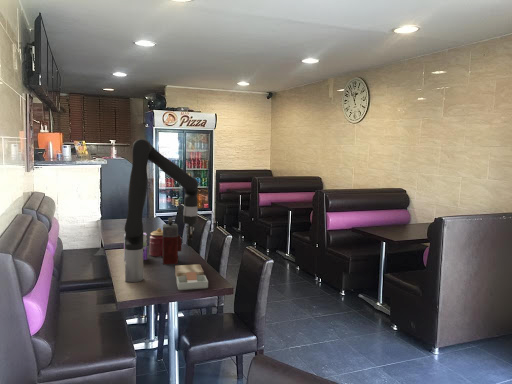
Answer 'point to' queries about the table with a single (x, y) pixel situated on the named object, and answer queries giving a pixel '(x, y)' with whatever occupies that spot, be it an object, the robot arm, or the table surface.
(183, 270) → the birch board
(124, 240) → the candy box
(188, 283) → the grey tray
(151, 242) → the canister
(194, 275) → the terracotta tile
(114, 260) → the table surface
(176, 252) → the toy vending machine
